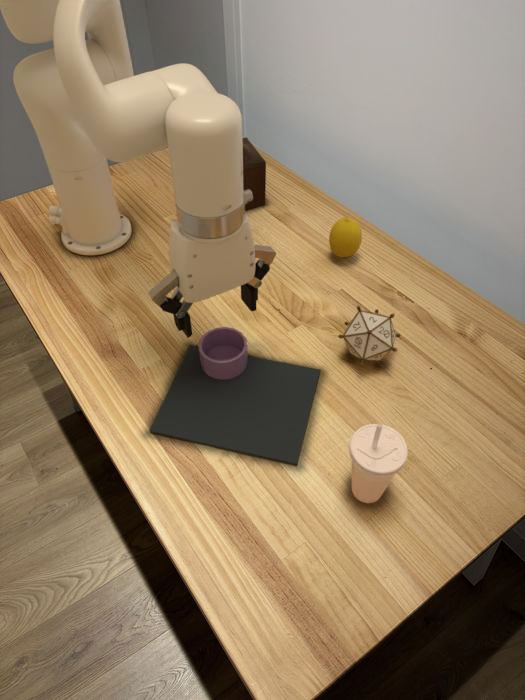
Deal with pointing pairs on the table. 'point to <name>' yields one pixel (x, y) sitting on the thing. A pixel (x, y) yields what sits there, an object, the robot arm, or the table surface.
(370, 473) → the smoothie
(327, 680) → the table surface
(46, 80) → the robot arm
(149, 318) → the table surface
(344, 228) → the lemon
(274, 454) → the mat
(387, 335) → the game die
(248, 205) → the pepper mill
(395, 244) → the table surface
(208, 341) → the dish
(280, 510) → the table surface
